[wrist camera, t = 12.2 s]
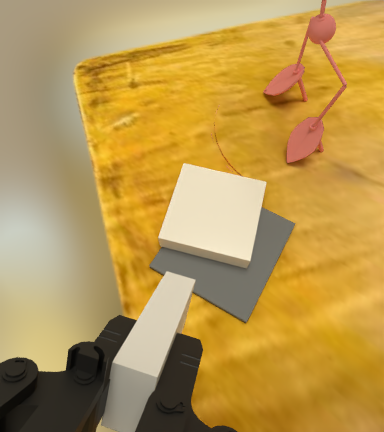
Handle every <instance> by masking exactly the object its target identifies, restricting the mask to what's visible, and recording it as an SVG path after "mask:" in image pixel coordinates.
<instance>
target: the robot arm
mask: <svg viewBox="0 0 384 432" xmlns="http://www.w3.org/2000/svg"><path fill="white" fill-rule="evenodd" d="M195 281H196V280H195V279H191V278H188V277H185V276H181V275H178V274H174V273H171V272H168V271H166V273H165V275H164V277H163V278H162V280H161V282H160V283H159V285H158V287H157V288H156V290H155V292H154V293H153V295H152V297H151V298H150V300H149V302H148V303H147V305H146V307H145V308H144V310H143V312H142V313H141V315H140V317H139V318H138V320H134V319H130V318H127V317H124V316H121V315H119V316H117V317H115V318H114V319H112V320H110V321H109V322H108V324H107V325H106V327H105V328H104V330H103V331H102V332H101V333H100V335H99V337H97V339H96V340H95V342H80V343H78V344H75V345H73V346H72V347H71V348H70V349H69V350H68V357H67V366H66V370H65V371H61V372H42V371H38V367H37V365H36V364H35V363H34V362H33V361H32V360H29V359H27V358H18V357H17V358H12V359H8V360H6V361H4V362H2V363H0V432H96V427H97V425H98V424H99V422H100V420H101V418H102V423H101V425H102V426H105V427H107V428H110V429H113V430H115V431H118V432H237V431H236V430H234V429H233V428H230V427H227V426H215V427H213V428H212V429H211V428H209V427H208V426H207V425H205V424H204V423H203V422H202V421H200V420H199V419H198V418H197V416H196V415H195V414H194V412H193V409H192V406H191V396H192V392H193V388H194V384H195V380H196V376H197V372H198V368H199V364H200V360H201V356H202V352H203V348H202V345H201V341H200V340H199V339H196V338H193V337H190V336H187V335H183V334H181V333H182V330H183V327H184V324H185V320H186V316H187V312H188V308H189V304H190V300H191V297H192V293H193V289H194V285H195ZM102 416H103V417H102Z"/></svg>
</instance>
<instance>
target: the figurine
mask: <svg viewBox="0 0 384 432" xmlns="http://www.w3.org/2000/svg"><path fill="white" fill-rule="evenodd" d="M325 6H326V0H322V4H321V11H320V15H317V16H316V17H312V18H311V19H310V22H309V26H308V29H307V32H306V36H305V39H304V42H303V45H302V49H301V52H300V55H299V58H298V62H297V64H293V65H290V66H288V67H287V68H285V69H283V70H282V71H281V72H280V73H279V74H277V75H276V76H275V77H274V79H273V80H272V81H271V82H270V83H269V85H268V86H267V87H266V89H265V90H264V93H265V94H267V95H270V94H271V95H272V96H276V95H279V94H282V93H284V92H286V91H287V90H289V89H290V88H291V87H293V86H294V85H295V84H296V83H297V82H298V84H299V87H300V90H301V93H302V96H303V100H304V101H307V100H308V99H307V95H306V92H305V89H304V85H303V82H302V79H301V77H302V75H303V73H304V68H305V67H304V66H303V65H302V64H301V63H300V61H301V58H302V55H303V52H304V49H305V45H306V42H307V39H308V36H309V38H310V40H311V41H312V42H313V43H315V44H320V45H321V47H322V49H323V51H324V52H325V54H326V56H327V58H328V59H329V61H330V63H331V65H332V66H333V68H334V70H335V72H336V73H337V75H338V77H339V79H340V80H341V82H342V84H343V86H342V87H341V89H340V90H339V91H338V93H337V94H336V95H335V97H334V98H333V99H332V100H331V102H330V103H329V104H328V106H327V107H326V108H325V109H324V111H323V112H322V113H321V115H320V116H319V117H308V118H307V119H306V120H304V121H303V122H301V123H300V124H298V125H297V126H296V127H295V129H294V130H293V131H292V133H291V135H290V138H289V141H288V147H287V163H290V162H294V161H297V160H300V159H303V158H305V157H307V156H309V155H310V154H311V153H312V152H314V151H315V150H316V148H317V147H318V148H319V151H320V152H323V150H324V149H323V146H322V142H321V137H322V134H323V131H324V127H323V123H322V120H321V119H322V117H323V116H324V115H325V114H326V112H327V111H328V110H329V109H330V107H331V106H332V105H333V104H334V102H335V101H336V100H337V99H338V97H339V96H340V95H341V93H342V92H343V91H344V90H345V88H346V87H347V86H346V85H347V83H346V81H345V79H344V78H343V76H342V74H341V72H340V71H339V69H338V67H337V65H336V63H335V62H334V60H333V58H332V56H331V55H330V53H329V51H328V49H327V48H326V46H325V44H324V43H326V42H328V41H329V40H330V39H331V38H332V37H333V35H334V34H335V30H336V23H335V20H334V18H333V17H332V16H331V15H329V14H324V11H325ZM266 90H267V91H266ZM218 107H219V106H218ZM217 110H218V109H217ZM214 123H215V122H214ZM214 126H215V124H214ZM211 135H212V134H211ZM215 136H216V135H215ZM212 139H213V138H212ZM216 140H217V139H216ZM213 143H214V142H213ZM217 144H218V143H217ZM218 146H219V145H218ZM220 151H221V150H220ZM221 153H222V152H221ZM222 155H223V154H222ZM223 156H224V155H223ZM224 158H225V157H224ZM225 159H226V158H225ZM227 162H228V161H227ZM229 165H230V164H229ZM230 166H231V165H230ZM231 167H232V166H231ZM232 168H233V167H232ZM233 169H234V168H233ZM234 170H235V169H234ZM235 171H236V170H235ZM236 172H237V171H236ZM237 173H238V172H237ZM238 174H239V173H238ZM241 176H242V175H241ZM242 177H243V176H242Z"/></svg>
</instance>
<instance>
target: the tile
mask: <svg viewBox="0 0 384 432" xmlns="http://www.w3.org/2000/svg"><path fill="white" fill-rule="evenodd" d="M265 187H266V182H264V181H260V180H256V179H251V178H247V177H242V176H238V175H234V174H229V173H225V172H220V171H216V170H212V169H207V168H203V167H198V166H194V165H190V164H185V163H184V164H183V167H182V170H181V173H180V176H179V179H178V181H177V184H176V187H175V190H174V193H173V196H172V199H171V202H170V205H169V208H168V211H167V214H166V217H165V220H164V222H163V225H162V228H161V231H160V234H159V237H158V239H159V243H160V246H161V247H165V248H169V249H173V250H177V251H181V252H184V253H188V254H192V255H196V256H200V257H204V258H208V259H212V260H215V261H219V262H223V263H227V264H231V265H235V266H239V267H243V268H246V269H247V267H248V265H249V263H250V260H251V255H252V251H253V246H254V241H255V236H256V231H257V226H258V221H259V216H260V211H261V207H262V202H263V197H264V192H265Z"/></svg>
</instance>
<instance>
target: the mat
mask: <svg viewBox="0 0 384 432" xmlns="http://www.w3.org/2000/svg"><path fill="white" fill-rule="evenodd" d="M294 225H295V223H293V222H291V221H289V220H287V219H285V218H283V217H281V216H279V215H277V214H275V213H273V212H271V211H269V210H267V209H265V208H262V207H261V211H260V216H259V221H258V226H257V231H256V236H255V241H254V246H253V251H252V255H251V260H250V263H249V265H248V267H247V269H246V268H243V267H239V266H235V265H231V264H227V263H223V262H219V261H215V260H212V259H208V258H204V257H200V256H196V255H192V254H188V253H184V252H181V251H177V250H173V249H169V248H165V247H162V248H161V249H160V251H159V252H158V254H157V255H156V257H155V258H154V260H153V261H152V263H151V264H150V268H152V269H153V270H155V271H157V272H159V273H160V274H162V275H165V273H166V271H168V272H171V273H174V274H178V275H181V276H185V277H188V278H191V279H195V280H196V281H195V285H194V289H193V293H195V294H196V295H198V296H200V297H202V298H203V299H205V300H207V301H209V302H210V303H212V304H214V305H215V306H217V307H219V308H221V309H222V310H224V311H226V312H228V313H229V314H231V315H233V316H234V317H236V318H238V319H240V320H241V321H243V322H245V323H246V322H247V321H248V319H249V317H250V315H251V313H252V311H253V308H254V306H255V304H256V302H257V300H258V298H259V296H260V294H261V292H262V290H263V288H264V286H265V284H266V282H267V280H268V278H269V276H270V274H271V272H272V270H273V268H274V266H275V264H276V262H277V260H278V258H279V256H280V254H281V252H282V250H283V248H284V246H285V244H286V242H287V240H288V238H289V236H290V234H291V231H292V229H293V227H294Z"/></svg>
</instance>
